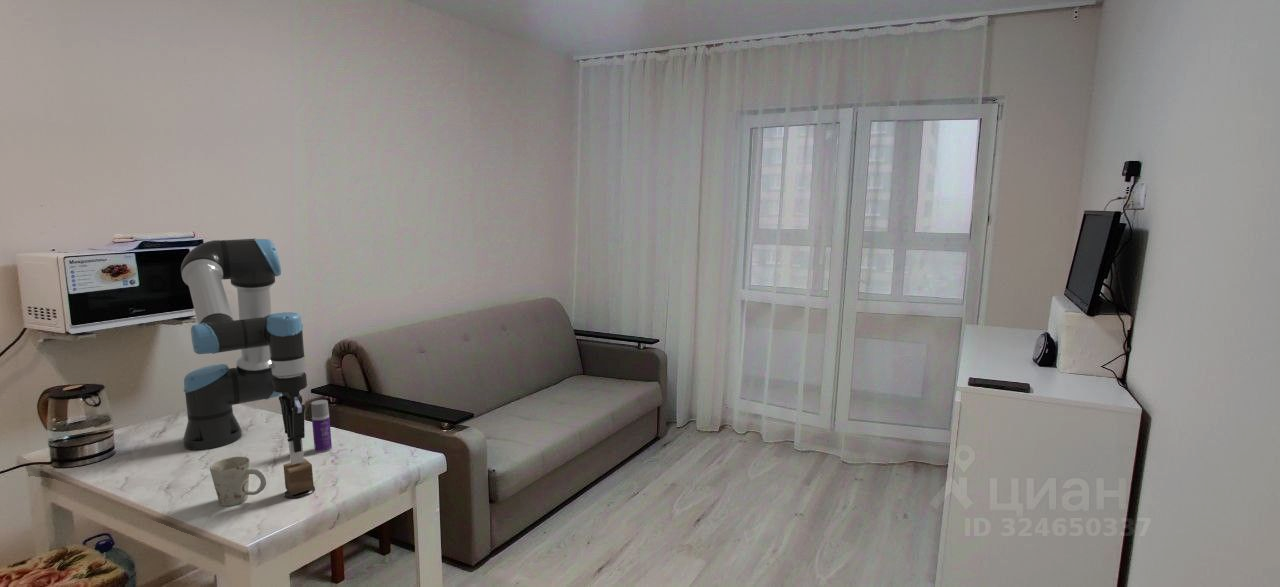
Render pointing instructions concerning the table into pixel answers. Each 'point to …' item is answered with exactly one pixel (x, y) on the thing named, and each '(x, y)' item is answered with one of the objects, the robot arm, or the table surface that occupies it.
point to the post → (299, 494)
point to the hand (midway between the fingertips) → (297, 462)
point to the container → (321, 426)
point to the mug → (234, 480)
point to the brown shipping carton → (298, 477)
